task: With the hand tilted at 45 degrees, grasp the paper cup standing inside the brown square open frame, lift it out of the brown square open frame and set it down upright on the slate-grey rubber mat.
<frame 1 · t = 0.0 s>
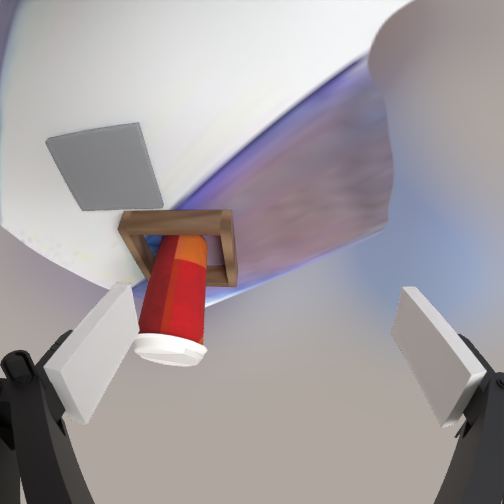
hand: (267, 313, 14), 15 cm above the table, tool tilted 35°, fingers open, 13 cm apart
paper cup: (185, 242, 36), resting in brown square open frame
mat: (105, 171, 26), on the table
brown square open frame: (185, 243, 36), on the table
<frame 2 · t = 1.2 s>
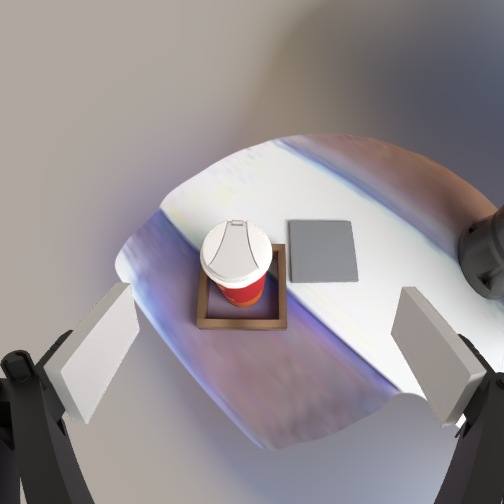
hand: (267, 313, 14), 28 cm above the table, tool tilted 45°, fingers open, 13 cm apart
paper cup: (243, 289, 44), resting in brown square open frame
mat: (322, 251, 46), on the table
brown square open frame: (243, 289, 44), on the table
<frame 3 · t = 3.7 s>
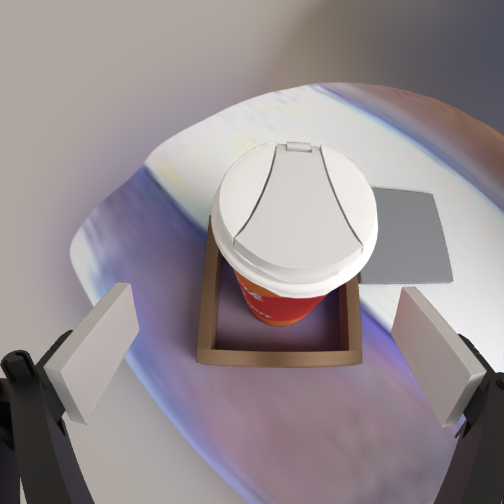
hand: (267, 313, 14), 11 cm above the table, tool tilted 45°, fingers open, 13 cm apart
paper cup: (279, 295, 25), resting in brown square open frame
mat: (400, 235, 27), on the table
brown square open frame: (279, 294, 25), on the table
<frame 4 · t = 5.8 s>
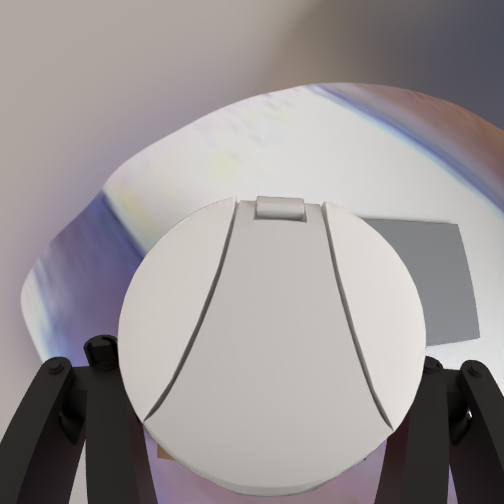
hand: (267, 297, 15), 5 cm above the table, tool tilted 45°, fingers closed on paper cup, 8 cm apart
paper cup: (264, 370, 19), resting in brown square open frame, touching gripper
mat: (420, 281, 21), on the table
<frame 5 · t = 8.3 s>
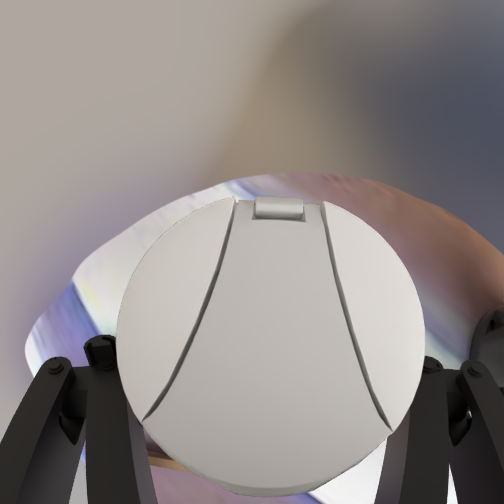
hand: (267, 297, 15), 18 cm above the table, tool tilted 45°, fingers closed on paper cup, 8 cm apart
paper cup: (263, 370, 19), point 13 cm above the table, touching gripper
brown square open frame: (165, 411, 28), on the table
when the fingers open (7 cm above the table, at t = 11.1 s): paper cup drops 1 cm, resting on mat.
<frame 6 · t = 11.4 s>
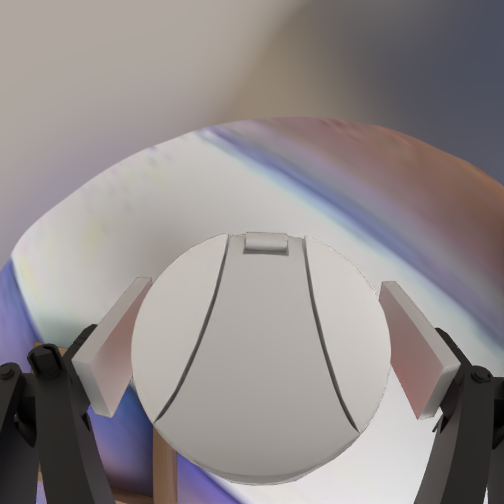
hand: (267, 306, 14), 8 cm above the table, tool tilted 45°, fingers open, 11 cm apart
paper cup: (260, 372, 20), resting on mat
brown square open frame: (103, 430, 18), on the table
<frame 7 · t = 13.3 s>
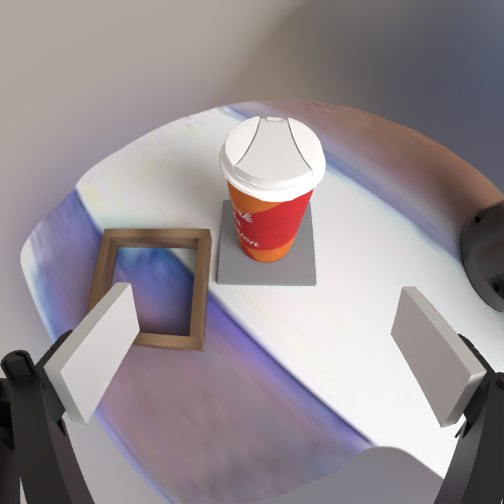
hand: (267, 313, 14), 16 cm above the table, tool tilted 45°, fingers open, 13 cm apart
paper cup: (265, 240, 33), resting on mat
mat: (267, 241, 33), on the table
brown square open frame: (151, 290, 31), on the table
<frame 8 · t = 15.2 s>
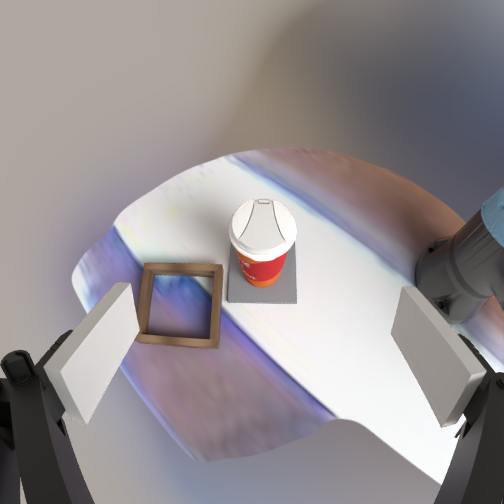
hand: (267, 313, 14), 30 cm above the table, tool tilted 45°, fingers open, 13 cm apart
paper cup: (261, 271, 46), resting on mat
mat: (262, 271, 47), on the table
brown square open frame: (181, 307, 44), on the table
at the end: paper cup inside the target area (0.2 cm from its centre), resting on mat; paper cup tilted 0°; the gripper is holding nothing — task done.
